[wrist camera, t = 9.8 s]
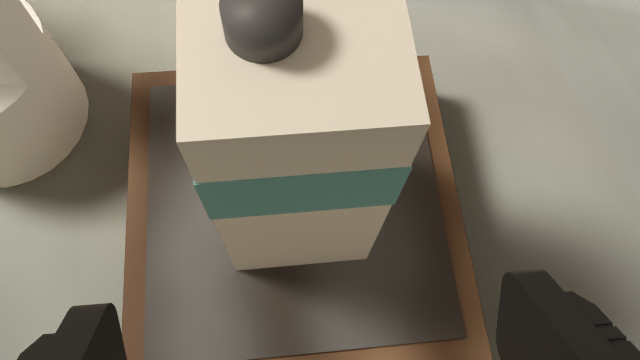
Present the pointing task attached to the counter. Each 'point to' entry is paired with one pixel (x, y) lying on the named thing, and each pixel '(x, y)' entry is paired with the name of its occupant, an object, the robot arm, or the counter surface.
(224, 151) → the cream carton
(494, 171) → the counter surface
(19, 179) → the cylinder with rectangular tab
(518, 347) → the robot arm
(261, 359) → the brown shallow square tray
